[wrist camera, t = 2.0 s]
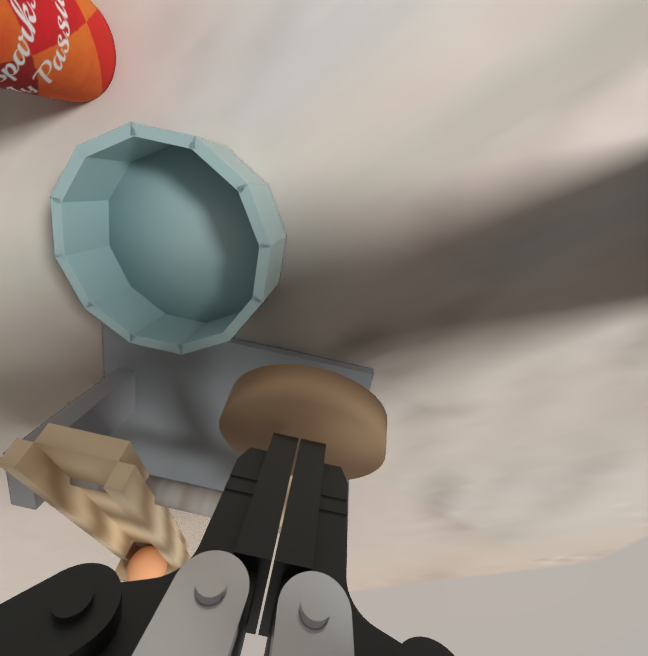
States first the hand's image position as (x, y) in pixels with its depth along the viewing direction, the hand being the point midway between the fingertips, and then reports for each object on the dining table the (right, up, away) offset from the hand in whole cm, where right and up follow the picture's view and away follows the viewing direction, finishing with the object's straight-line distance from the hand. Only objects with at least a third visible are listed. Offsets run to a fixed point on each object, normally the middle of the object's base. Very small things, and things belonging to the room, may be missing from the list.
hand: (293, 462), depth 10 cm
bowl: (-8, +10, +14) cm, 19 cm away
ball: (-14, -16, +19) cm, 28 cm away
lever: (-6, -6, +12) cm, 15 cm away
